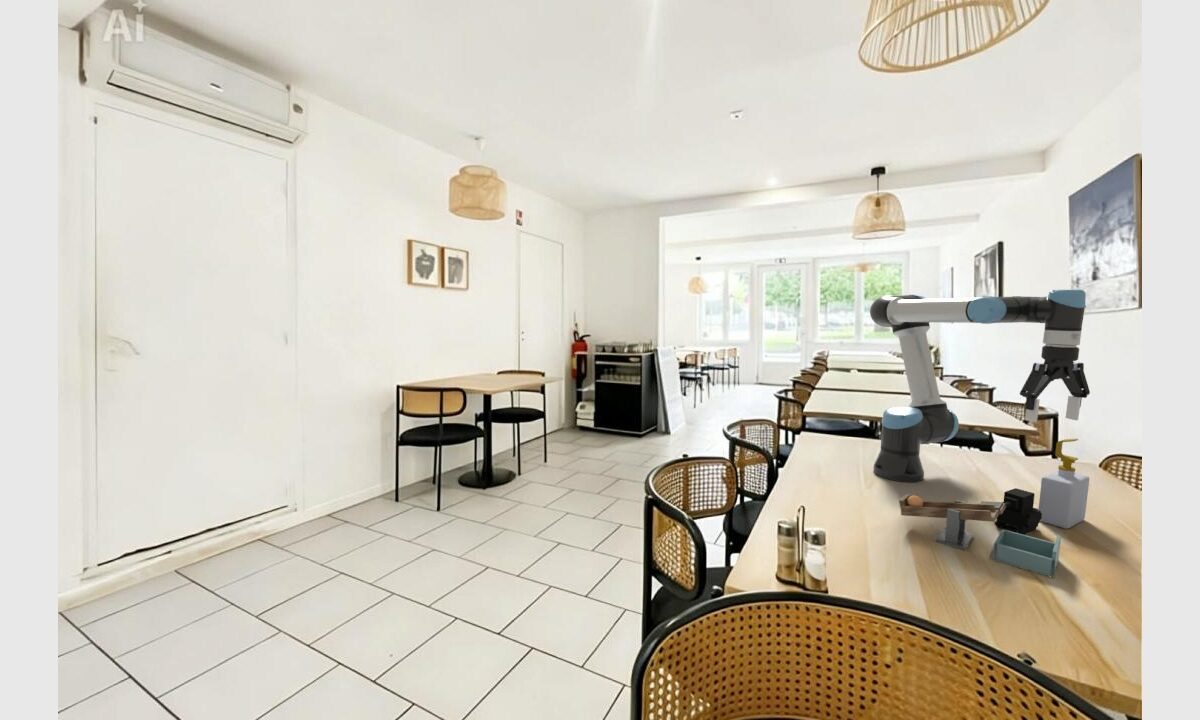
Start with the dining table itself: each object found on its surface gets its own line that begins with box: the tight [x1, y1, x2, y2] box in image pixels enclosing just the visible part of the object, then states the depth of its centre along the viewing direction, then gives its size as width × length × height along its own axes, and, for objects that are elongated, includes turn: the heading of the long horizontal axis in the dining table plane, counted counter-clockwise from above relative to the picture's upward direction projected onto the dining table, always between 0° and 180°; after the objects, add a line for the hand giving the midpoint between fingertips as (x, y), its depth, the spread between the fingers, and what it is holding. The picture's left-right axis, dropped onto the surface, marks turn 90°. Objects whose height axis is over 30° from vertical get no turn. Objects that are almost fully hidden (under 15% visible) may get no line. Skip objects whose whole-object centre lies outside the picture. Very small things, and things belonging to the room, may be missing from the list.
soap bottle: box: [1038, 438, 1090, 529], centre depth 134 cm, size 12×7×23 cm, turn 119°
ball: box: [907, 495, 924, 507], centre depth 131 cm, size 4×4×4 cm
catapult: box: [898, 493, 1006, 523], centre depth 128 cm, size 20×12×4 cm, turn 42°
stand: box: [935, 499, 975, 552], centre depth 125 cm, size 6×10×9 cm, turn 133°
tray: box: [992, 528, 1062, 578], centre depth 115 cm, size 11×11×6 cm
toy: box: [994, 488, 1042, 535], centre depth 130 cm, size 8×14×10 cm, turn 117°
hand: (1051, 420), depth 138 cm, fingers open, 13 cm apart
